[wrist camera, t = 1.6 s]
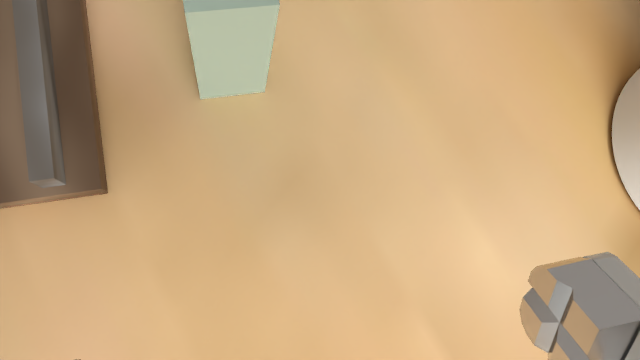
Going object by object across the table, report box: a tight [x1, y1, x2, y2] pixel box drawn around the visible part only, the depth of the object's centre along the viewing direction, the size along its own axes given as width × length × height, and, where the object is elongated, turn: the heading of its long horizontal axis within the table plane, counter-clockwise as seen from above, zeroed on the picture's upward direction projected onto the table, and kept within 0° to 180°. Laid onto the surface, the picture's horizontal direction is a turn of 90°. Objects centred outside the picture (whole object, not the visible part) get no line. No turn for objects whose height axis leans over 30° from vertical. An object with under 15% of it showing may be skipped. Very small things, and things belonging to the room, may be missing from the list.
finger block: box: [183, 0, 280, 99], centre depth 28 cm, size 4×4×11 cm
